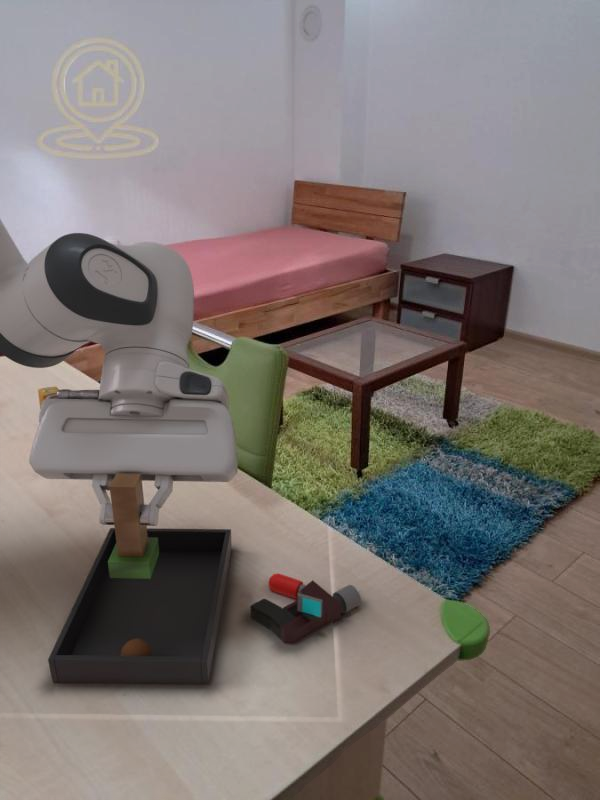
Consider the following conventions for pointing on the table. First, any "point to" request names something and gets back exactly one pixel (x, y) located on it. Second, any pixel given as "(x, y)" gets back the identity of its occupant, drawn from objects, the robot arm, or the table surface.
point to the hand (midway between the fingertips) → (128, 524)
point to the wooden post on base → (130, 531)
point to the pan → (148, 614)
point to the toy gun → (302, 608)
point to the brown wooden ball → (136, 648)
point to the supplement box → (46, 393)
